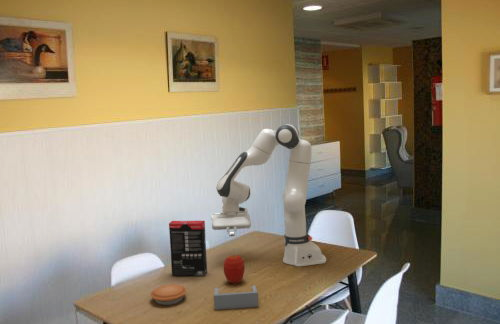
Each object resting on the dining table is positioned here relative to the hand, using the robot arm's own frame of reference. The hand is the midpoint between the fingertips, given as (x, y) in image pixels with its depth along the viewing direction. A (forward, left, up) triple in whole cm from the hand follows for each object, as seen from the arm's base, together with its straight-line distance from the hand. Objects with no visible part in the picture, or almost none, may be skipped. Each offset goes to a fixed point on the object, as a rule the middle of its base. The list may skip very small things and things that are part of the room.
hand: (231, 235), depth 237 cm
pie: (+29, +36, -17) cm, 49 cm away
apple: (0, +21, -17) cm, 27 cm away
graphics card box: (+22, +7, -17) cm, 28 cm away
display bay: (0, +41, -16) cm, 44 cm away
